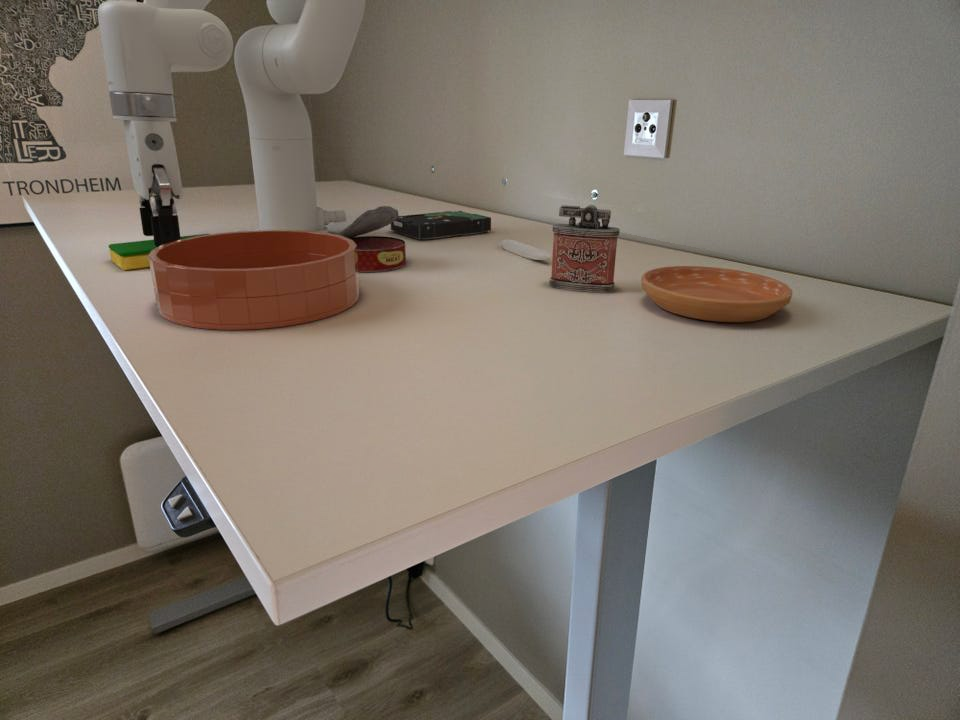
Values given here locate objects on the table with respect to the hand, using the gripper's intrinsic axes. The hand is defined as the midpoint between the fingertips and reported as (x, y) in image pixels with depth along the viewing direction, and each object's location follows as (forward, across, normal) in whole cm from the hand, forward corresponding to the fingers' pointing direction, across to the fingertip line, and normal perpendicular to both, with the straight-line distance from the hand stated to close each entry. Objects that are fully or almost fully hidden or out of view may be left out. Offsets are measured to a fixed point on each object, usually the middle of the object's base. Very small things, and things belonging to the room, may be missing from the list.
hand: (161, 240), depth 91 cm
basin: (+3, -27, -6) cm, 27 cm away
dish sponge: (+3, 0, -1) cm, 3 cm away
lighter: (+2, -42, -41) cm, 58 cm away
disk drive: (+2, -1, -45) cm, 45 cm away
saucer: (+2, -56, -48) cm, 73 cm away
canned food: (+2, -17, -24) cm, 29 cm away
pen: (+2, -24, -46) cm, 52 cm away
